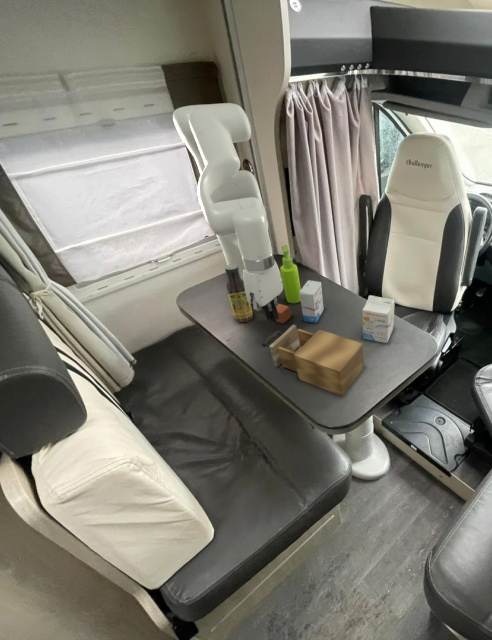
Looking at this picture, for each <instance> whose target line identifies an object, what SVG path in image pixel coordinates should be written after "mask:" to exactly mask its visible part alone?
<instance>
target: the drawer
mask: <svg viewBox="0 0 492 640" xmlns="http://www.w3.org/2000/svg"><path fill="white" fill-rule="evenodd" d="M314 334H315V333H313V332H310V331H307V330H304V329H300V328H298V327H297V325H295V324H292V325H291V326H290V327H289V328H288V329H286V330H285V332H281V331H280V330H279V329H277V330H275V331H274V332H273V333H272V334H271V335H270V336H269V337H268V338H266V339H265V340H264V341H263V342H261V345H262V347H264V348H266V347H267V348H269V351H270V355H271V359H272V363H273V365H274V367H275V368H278V367H280V365H281V366H282V367H283V368H285V369H288V370H291V371H292V372H296V373H298V372H297V367H296V363H295V358H294V354H295V353H296V352H297V351H298V350H299V349H300V348H301V347H302V346H303V345H304V344H305V343H306V342H307V341H308V340H309V339H310V338H311V337H312V336H313V335H314ZM277 337H278V338H277ZM276 338H277V339H276ZM275 339H276V340H275ZM271 342H272V343H271ZM270 343H271V344H270Z"/></svg>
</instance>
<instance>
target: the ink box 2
mask: <svg viewBox="0 0 492 640" xmlns="http://www.w3.org/2000/svg"><path fill="white" fill-rule="evenodd" d="M395 303H396V301H395V299H392V298H389V297H382V296H381V297H380V296H376V295H371V294H370V295H368V297H367V301H366V302H365V304H364V306H363V308H362V339H363V340H368V341H373V342H379V343H384V344H388V342H389V340H390V337H391V335H392V333H393V330H394V323H395V322H394V321H395Z"/></svg>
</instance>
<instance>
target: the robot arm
mask: <svg viewBox="0 0 492 640" xmlns="http://www.w3.org/2000/svg"><path fill="white" fill-rule="evenodd" d="M172 120H173V124H174V126H175V129H176V131H177V133H178V135H179V138H180V139H181V140H182V142H183V144H184V145H185V146H186V147H187V149H188V151H189V152H190V154H191V155H192V156H193V158H194V160H195V163H196V165H197V168H198V171H199V174H200V176H199V179H198V182H197V198H198V202H199V205H200V208H201V210H202V213H203V216H204V218H205V221H206V223H207V226H208V228H209V230H210V231H211V232H212V233H213V234H214V235H215V237H216V238H217V240H218V242H219V244H220V247H221V250H222V253H223V256H224V259H225V262H226V265H228V264H236V265H238V268H239V275H240V278H241V279H242V280H243V281H244V287H245V292H246V296H247V300H248V302H249V303H250V304H251V305H252V306H253V307H252V310H253V311H255V312H260V311H262V310H264V313H265V317H266V319H267V320H269V321H272V322H277V321H276V320H277V319H278V318H279V316H278V312H277V307H276V306H277V305H278V304H279V303H278V300H279V297H280V296H281V294H282V292H283V290H284V285H283V280H282V275H281V270H280V268H279V266H278V263H277V261H276V260H275V257H274V251H275V250H274V249H273V246H272V242H271V237H270V233H269V221H268V218H267V211H266V207H265V205H264V202H263V198H262V194H261V191H260V187H259V184H258V181H257V178H256V177H255V175H254V174H253V172H251V171H249V170H246V169H245V170H244V169H243V170H242V169H241V170H240V168H241V160H240V157H239V155H238V152H237V149H236V148H235V145H234V144H236V143H244V142H248V141H250V139H251V137H252V127H251V123H250V120H249V117H248V115H247V113H246V112H245V110H244V109H243V107H241V106H240V105H239V104H237V103H233V102H223V103H221V102H220V103H209V104H192V105H186V106H180V107H178V108H176V109H175V110H174V111H173V113H172Z"/></svg>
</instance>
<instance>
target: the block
mask: <svg viewBox="0 0 492 640" xmlns="http://www.w3.org/2000/svg"><path fill="white" fill-rule="evenodd" d="M276 307H277V312H278V316H279V318H278V319H277V320H276V321H275V322H277V323H280V324H283V325H284V324H285V323H286V322H287V321H288V320H290V318H292V314H291V310H290V306H288V305H285V304H282V303H278V305H277V306H276Z"/></svg>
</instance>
